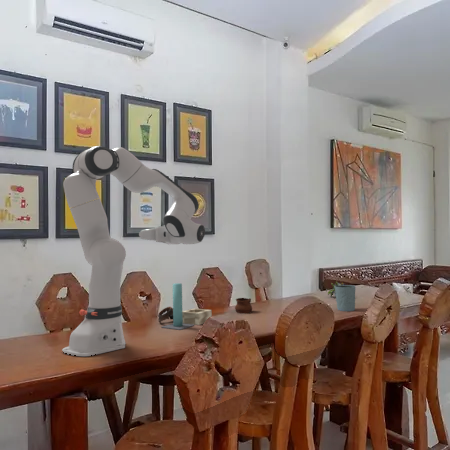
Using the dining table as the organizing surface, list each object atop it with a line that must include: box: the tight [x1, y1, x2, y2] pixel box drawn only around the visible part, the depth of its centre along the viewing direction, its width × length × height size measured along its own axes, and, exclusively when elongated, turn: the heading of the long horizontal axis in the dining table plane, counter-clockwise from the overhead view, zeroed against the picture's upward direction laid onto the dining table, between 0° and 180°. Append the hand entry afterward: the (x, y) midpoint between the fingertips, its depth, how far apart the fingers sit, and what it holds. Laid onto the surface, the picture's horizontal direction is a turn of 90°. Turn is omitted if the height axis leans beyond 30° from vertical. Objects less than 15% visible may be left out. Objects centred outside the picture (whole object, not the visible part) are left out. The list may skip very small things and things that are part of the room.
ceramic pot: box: [234, 297, 253, 314], centre depth 227 cm, size 18×18×7 cm
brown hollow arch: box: [157, 306, 173, 324], centre depth 204 cm, size 12×10×8 cm
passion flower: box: [325, 281, 346, 298], centre depth 269 cm, size 11×11×12 cm
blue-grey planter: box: [335, 284, 356, 312], centre depth 228 cm, size 10×10×12 cm
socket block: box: [182, 307, 213, 326], centre depth 204 cm, size 10×10×5 cm
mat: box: [160, 323, 195, 331], centre depth 194 cm, size 10×10×1 cm
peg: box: [172, 282, 183, 327], centre depth 194 cm, size 4×4×18 cm
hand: (147, 234), depth 200 cm, fingers open, 8 cm apart
